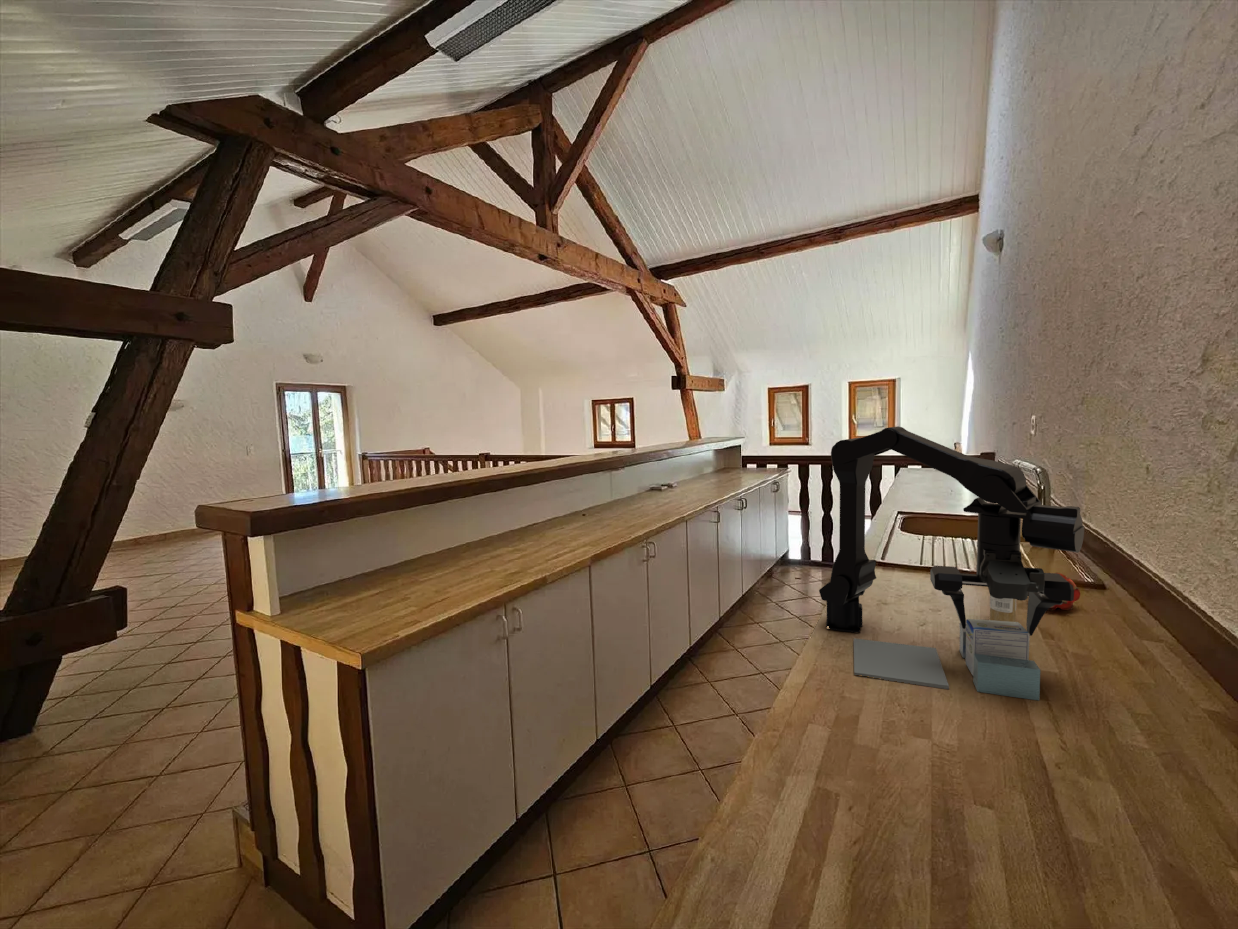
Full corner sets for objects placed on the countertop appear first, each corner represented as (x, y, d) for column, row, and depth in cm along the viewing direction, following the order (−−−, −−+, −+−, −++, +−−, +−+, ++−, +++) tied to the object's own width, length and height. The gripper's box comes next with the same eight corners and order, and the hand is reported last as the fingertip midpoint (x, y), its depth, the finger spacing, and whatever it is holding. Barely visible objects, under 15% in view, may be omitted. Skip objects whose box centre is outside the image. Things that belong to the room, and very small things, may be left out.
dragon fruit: (1038, 621, 110) (1055, 614, 117) (1082, 607, 105) (1097, 600, 112) (1012, 584, 114) (1030, 579, 121) (1053, 568, 109) (1070, 564, 116)
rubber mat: (854, 675, 90) (854, 672, 90) (853, 641, 103) (853, 638, 102) (948, 689, 84) (948, 686, 84) (935, 651, 97) (935, 648, 97)
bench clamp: (977, 691, 83) (978, 662, 83) (953, 636, 102) (953, 611, 102) (1039, 700, 80) (1040, 669, 79) (1002, 641, 99) (1002, 616, 99)
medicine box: (1018, 670, 89) (1019, 621, 88) (1029, 683, 85) (1030, 632, 84) (964, 664, 92) (965, 617, 91) (972, 677, 87) (973, 628, 86)
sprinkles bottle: (1019, 624, 106) (1021, 560, 105) (1010, 630, 103) (1012, 565, 102) (994, 617, 110) (995, 555, 108) (984, 623, 107) (985, 560, 106)
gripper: (940, 550, 82) (939, 644, 84) (1091, 558, 75) (1086, 661, 76) (930, 533, 92) (929, 617, 94) (1062, 539, 85) (1058, 630, 87)
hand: (995, 631), depth 87 cm, fingers open, 9 cm apart
